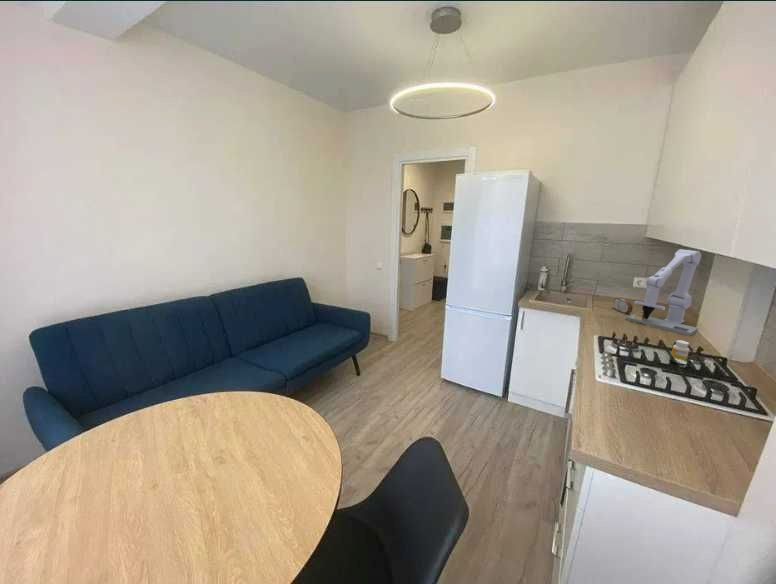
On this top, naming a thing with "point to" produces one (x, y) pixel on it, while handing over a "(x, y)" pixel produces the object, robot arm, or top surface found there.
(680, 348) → the supplement bottle
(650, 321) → the board
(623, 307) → the tin
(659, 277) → the robot arm
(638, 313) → the block
